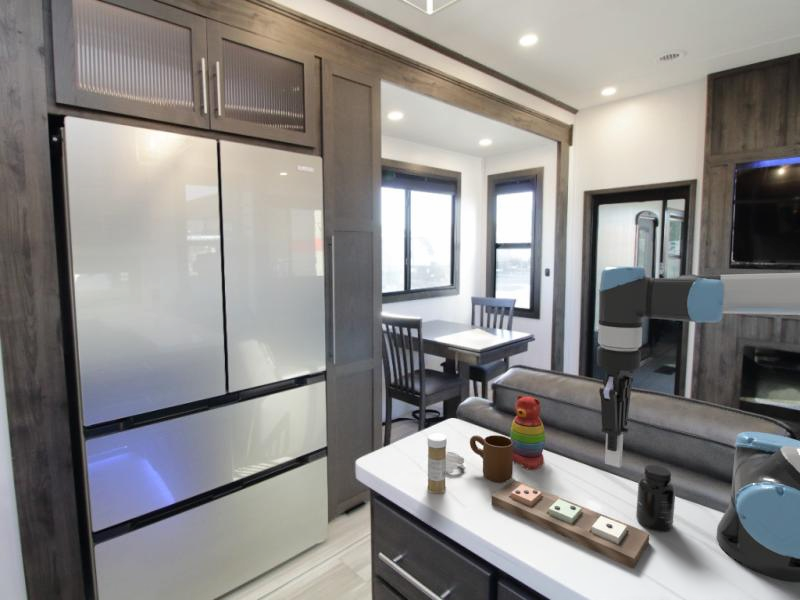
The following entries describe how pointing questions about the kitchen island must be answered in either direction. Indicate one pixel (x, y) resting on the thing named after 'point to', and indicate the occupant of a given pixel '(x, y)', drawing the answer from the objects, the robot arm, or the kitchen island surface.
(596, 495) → the kitchen island surface
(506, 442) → the mug
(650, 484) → the supplement bottle
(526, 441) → the stacking bear
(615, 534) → the one-pip button
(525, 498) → the three-pip button
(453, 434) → the kitchen island surface
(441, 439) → the sprinkles bottle
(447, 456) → the crumpled white paper
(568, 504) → the two-pip button
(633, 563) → the button board
